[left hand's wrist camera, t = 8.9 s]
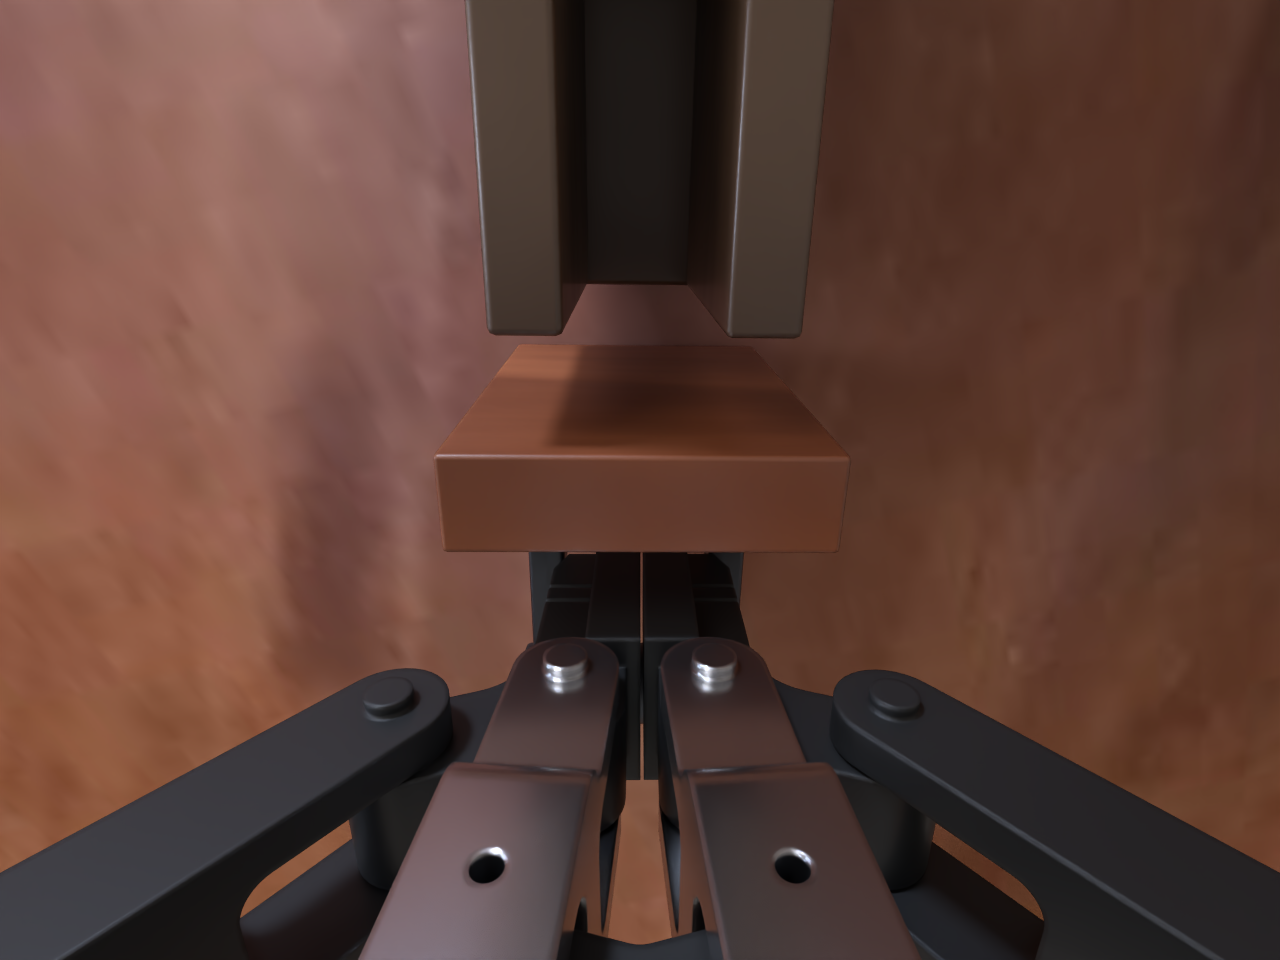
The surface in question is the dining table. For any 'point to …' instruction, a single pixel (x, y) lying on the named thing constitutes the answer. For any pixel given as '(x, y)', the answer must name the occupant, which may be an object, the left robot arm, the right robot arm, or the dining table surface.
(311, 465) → the dining table surface
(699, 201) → the drawer
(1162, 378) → the dining table surface
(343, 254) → the dining table surface
